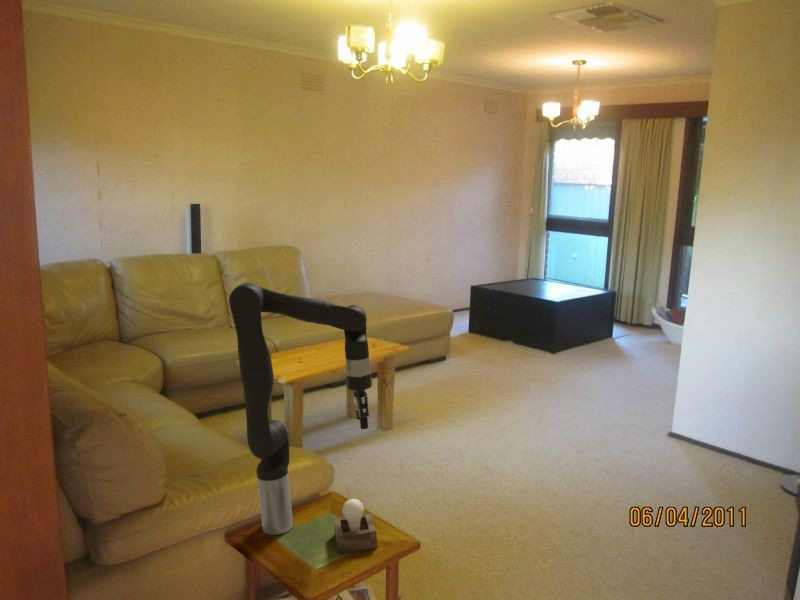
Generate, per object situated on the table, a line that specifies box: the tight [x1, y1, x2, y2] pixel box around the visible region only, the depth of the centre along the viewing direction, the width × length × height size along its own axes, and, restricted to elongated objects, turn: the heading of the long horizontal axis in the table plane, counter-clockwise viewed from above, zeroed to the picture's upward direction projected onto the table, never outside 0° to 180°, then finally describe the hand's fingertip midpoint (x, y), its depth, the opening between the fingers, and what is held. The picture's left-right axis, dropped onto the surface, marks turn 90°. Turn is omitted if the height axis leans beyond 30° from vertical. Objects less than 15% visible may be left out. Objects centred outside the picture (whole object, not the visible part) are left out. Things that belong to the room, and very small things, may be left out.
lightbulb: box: [342, 498, 365, 532], centre depth 186 cm, size 6×6×11 cm
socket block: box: [333, 512, 378, 555], centre depth 187 cm, size 11×11×5 cm
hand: (362, 423), depth 196 cm, fingers open, 8 cm apart
